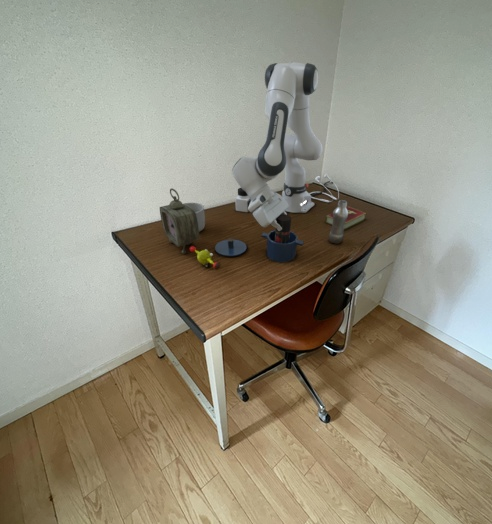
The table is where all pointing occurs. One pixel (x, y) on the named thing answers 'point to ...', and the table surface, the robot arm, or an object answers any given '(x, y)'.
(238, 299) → the table surface
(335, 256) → the table surface
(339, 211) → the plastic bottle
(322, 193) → the earphone
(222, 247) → the pot lid
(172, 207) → the tabletop clock
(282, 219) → the deodorant
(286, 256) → the pot
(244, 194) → the medicine bottle
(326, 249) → the table surface
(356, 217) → the hardcover book
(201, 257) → the toy figure
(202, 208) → the planter
